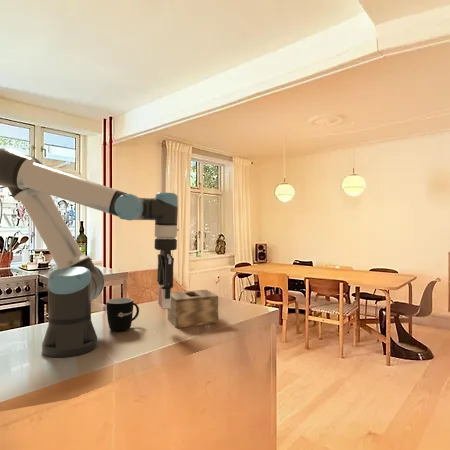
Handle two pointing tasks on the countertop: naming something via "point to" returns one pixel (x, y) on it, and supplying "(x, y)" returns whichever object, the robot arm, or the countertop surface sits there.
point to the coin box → (193, 308)
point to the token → (161, 298)
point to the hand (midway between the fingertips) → (164, 305)
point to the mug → (120, 314)
